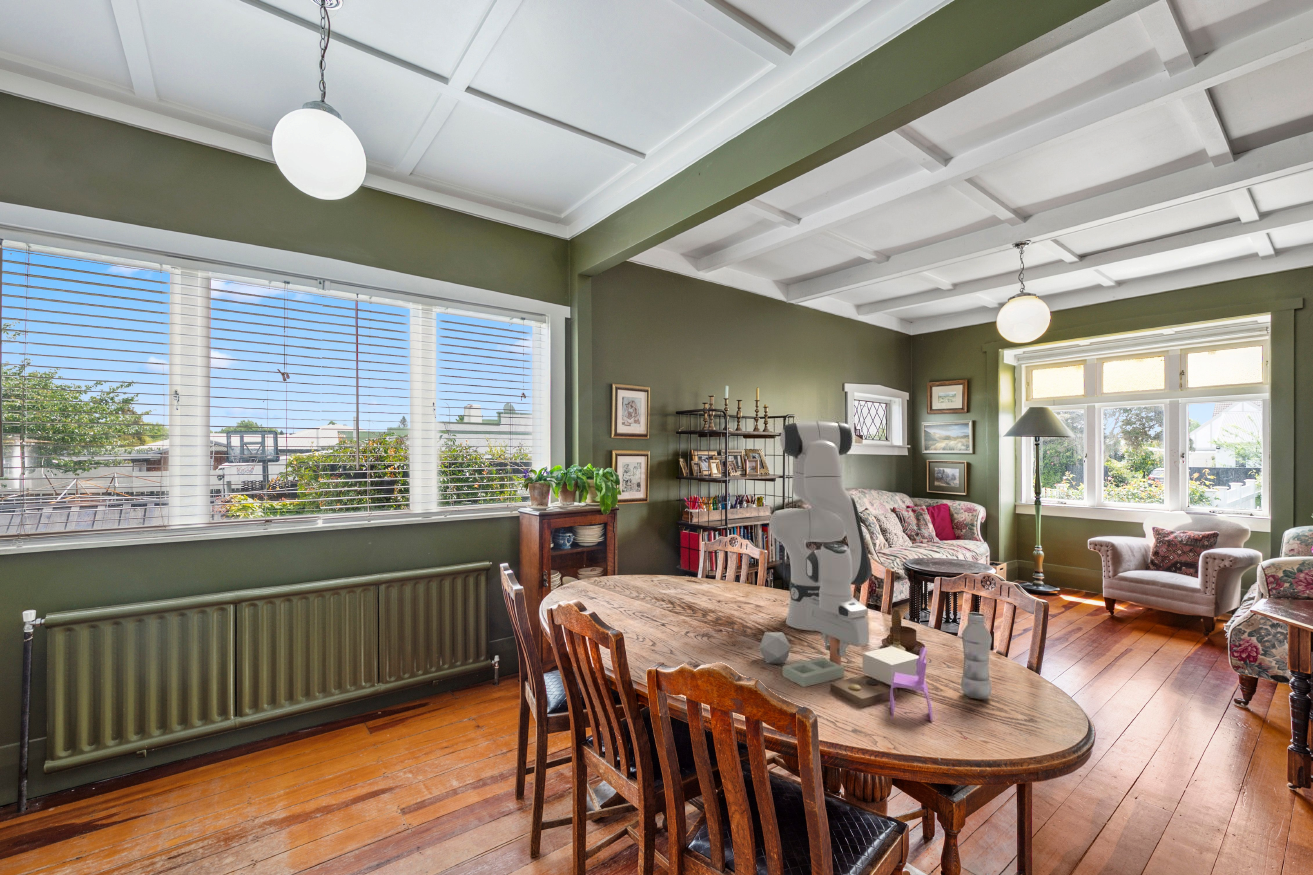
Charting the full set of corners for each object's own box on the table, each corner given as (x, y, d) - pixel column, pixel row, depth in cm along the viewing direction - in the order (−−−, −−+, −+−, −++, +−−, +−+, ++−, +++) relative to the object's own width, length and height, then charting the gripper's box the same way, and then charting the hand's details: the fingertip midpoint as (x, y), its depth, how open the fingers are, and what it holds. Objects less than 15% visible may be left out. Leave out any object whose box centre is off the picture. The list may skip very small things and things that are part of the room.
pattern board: (864, 682, 151) (864, 672, 151) (897, 697, 142) (897, 687, 142) (830, 691, 145) (830, 681, 145) (862, 707, 136) (862, 697, 136)
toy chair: (891, 701, 139) (892, 638, 139) (932, 709, 136) (932, 644, 136) (889, 716, 132) (889, 649, 132) (932, 724, 128) (932, 655, 128)
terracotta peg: (835, 661, 164) (835, 632, 164) (843, 665, 162) (843, 636, 162) (827, 663, 163) (827, 634, 163) (835, 667, 160) (835, 637, 160)
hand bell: (875, 667, 161) (876, 609, 161) (887, 659, 167) (887, 603, 167) (906, 675, 155) (907, 615, 155) (917, 667, 161) (918, 609, 161)
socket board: (821, 666, 161) (821, 657, 161) (844, 676, 154) (844, 667, 154) (782, 675, 154) (782, 666, 154) (803, 687, 147) (803, 677, 147)
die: (783, 672, 158) (799, 640, 161) (755, 654, 160) (772, 623, 163) (777, 672, 166) (792, 641, 169) (750, 655, 168) (766, 625, 171)
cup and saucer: (913, 660, 166) (913, 638, 166) (873, 649, 175) (873, 628, 176) (932, 650, 174) (932, 630, 174) (893, 640, 183) (893, 620, 183)
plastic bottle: (954, 694, 144) (954, 612, 144) (974, 689, 146) (974, 609, 147) (978, 705, 138) (978, 619, 138) (998, 700, 140) (998, 616, 141)
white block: (891, 665, 155) (892, 646, 155) (921, 677, 147) (921, 657, 147) (862, 672, 149) (862, 653, 150) (892, 685, 142) (892, 664, 142)
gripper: (800, 595, 170) (800, 643, 170) (855, 613, 152) (855, 667, 152) (816, 592, 173) (816, 639, 173) (872, 610, 155) (872, 663, 155)
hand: (835, 652), depth 162 cm, fingers closed on terracotta peg, 3 cm apart
